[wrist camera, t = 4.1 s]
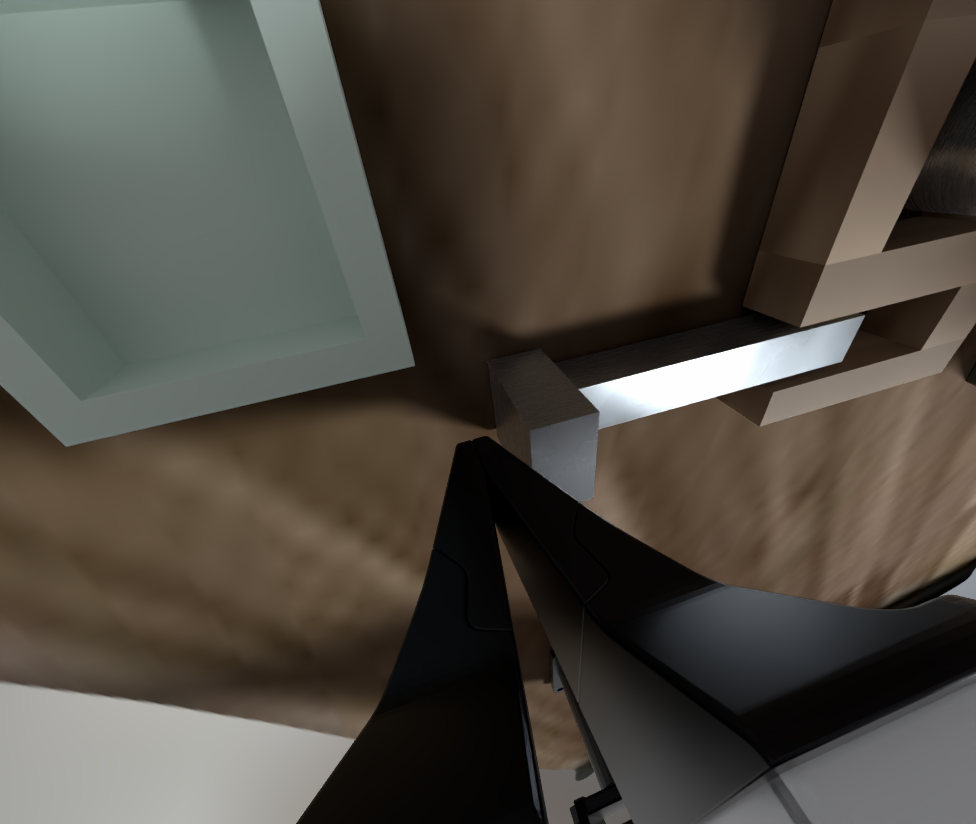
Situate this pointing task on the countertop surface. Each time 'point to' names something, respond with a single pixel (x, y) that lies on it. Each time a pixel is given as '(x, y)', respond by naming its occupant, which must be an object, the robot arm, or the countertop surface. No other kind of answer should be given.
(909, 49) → the socket block
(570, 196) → the countertop surface
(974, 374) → the wine bottle
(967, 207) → the polished steel rod
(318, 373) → the tray
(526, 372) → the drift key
